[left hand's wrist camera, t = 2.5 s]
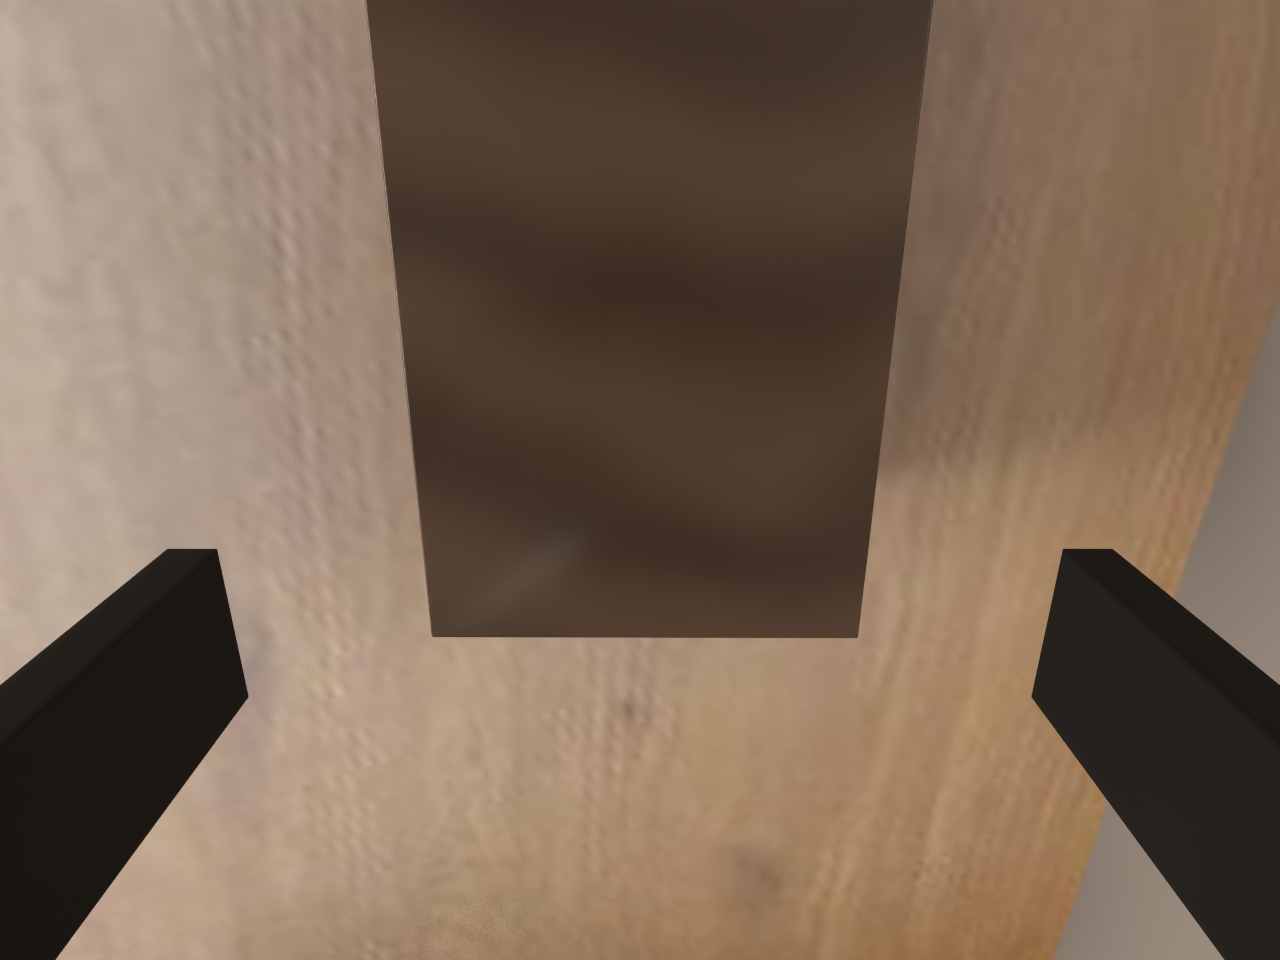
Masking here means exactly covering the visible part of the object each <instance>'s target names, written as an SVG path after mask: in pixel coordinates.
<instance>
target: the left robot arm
mask: <svg viewBox="0 0 1280 960" xmlns="http://www.w3.org/2000/svg"><path fill="white" fill-rule="evenodd" d="M247 698H248V692H247V687H246V683H245V678H244V673H243V669H242V664H241V659H240V655H239V650H238V645H237V641H236V636H235V631H234V627H233V622H232V617H231V613H230V608H229V603H228V599H227V594H226V589H225V585H224V580H223V575H222V570H221V566H220V561H219V556H218V552H217V549H167V550H166V551H164V552H163V553H162V554H161V555H160V556H158V557H157V558H156V559H155V560H153V561H152V562H151V563H150V564H148V565H147V566H146V567H145V568H144V569H142V570H141V571H140V572H139V573H137V574H136V575H135V576H134V577H132V578H131V579H130V580H129V581H128V582H126V583H125V584H124V585H123V586H121V587H120V588H119V589H118V590H117V591H115V592H114V593H113V594H112V595H110V596H109V597H108V598H107V599H105V600H104V601H103V602H102V603H101V604H99V605H98V606H97V607H96V608H94V609H93V610H92V611H91V612H90V613H88V614H87V615H86V616H85V617H83V618H82V619H81V620H80V621H78V622H77V623H76V624H75V625H74V626H72V627H71V628H70V629H69V630H67V631H66V632H65V633H64V634H62V635H61V636H60V637H59V638H58V639H56V640H55V641H54V642H53V643H51V644H50V645H49V646H48V647H47V648H45V649H44V650H43V651H42V652H40V653H39V654H38V655H37V656H35V657H34V658H33V659H32V660H31V661H29V662H28V663H27V664H26V665H24V666H23V667H22V668H21V669H20V670H18V671H17V672H16V673H15V674H13V675H12V676H11V677H10V678H8V679H7V680H6V681H5V682H4V683H2V684H1V685H0V960H56V958H57V957H58V955H59V954H60V953H61V951H62V950H63V949H64V947H65V946H66V945H67V943H68V942H69V941H70V939H71V938H72V936H73V935H74V934H75V932H76V931H77V930H78V928H79V927H80V926H81V924H82V923H83V921H84V920H85V919H86V917H87V916H88V915H89V913H90V912H91V911H92V909H93V908H94V907H95V905H96V904H97V902H98V901H99V900H100V898H101V897H102V896H103V894H104V893H105V892H106V890H107V889H108V887H109V886H110V885H111V883H112V882H113V881H114V879H115V878H116V877H117V875H118V874H119V872H120V871H121V870H122V868H123V867H124V866H125V864H126V863H127V862H128V860H129V859H130V858H131V856H132V855H133V853H134V852H135V851H136V849H137V848H138V847H139V845H140V844H141V843H142V841H143V840H144V838H145V837H146V836H147V834H148V833H149V832H150V830H151V829H152V828H153V826H154V825H155V823H156V822H157V821H158V819H159V818H160V817H161V815H162V814H163V813H164V811H165V810H166V809H167V807H168V806H169V804H170V803H171V802H172V800H173V799H174V798H175V796H176V795H177V794H178V792H179V791H180V789H181V788H182V787H183V785H184V784H185V783H186V781H187V780H188V779H189V777H190V776H191V775H192V773H193V772H194V770H195V769H196V768H197V766H198V765H199V764H200V762H201V761H202V760H203V758H204V757H205V755H206V754H207V753H208V751H209V750H210V749H211V747H212V746H213V745H214V743H215V742H216V740H217V739H218V738H219V736H220V735H221V734H222V732H223V731H224V730H225V728H226V727H227V726H228V724H229V723H230V721H231V720H232V719H233V717H234V716H235V715H236V713H237V712H238V711H239V709H240V708H241V706H242V705H243V704H244V702H245V701H246V700H247ZM1032 698H1033V700H1034V701H1035V702H1036V704H1037V705H1038V706H1039V708H1040V709H1041V711H1042V712H1043V713H1044V715H1045V716H1046V717H1047V719H1048V720H1049V721H1050V723H1051V724H1052V726H1053V727H1054V728H1055V730H1056V731H1057V732H1058V734H1059V735H1060V736H1061V738H1062V739H1063V740H1064V742H1065V743H1066V745H1067V746H1068V747H1069V749H1070V750H1071V751H1072V753H1073V754H1074V755H1075V757H1076V758H1077V760H1078V761H1079V762H1080V764H1081V765H1082V766H1083V768H1084V769H1085V770H1086V772H1087V773H1088V775H1089V776H1090V777H1091V779H1092V780H1093V781H1094V783H1095V784H1096V785H1097V787H1098V788H1099V789H1100V791H1101V792H1102V794H1103V795H1104V796H1105V798H1106V799H1107V800H1108V802H1109V803H1110V804H1111V806H1112V807H1113V809H1114V810H1115V811H1116V813H1117V814H1118V815H1119V817H1120V818H1121V819H1122V821H1123V822H1124V823H1125V825H1126V826H1127V828H1128V829H1129V830H1130V832H1131V833H1132V834H1133V836H1134V837H1135V838H1136V840H1137V841H1138V842H1139V844H1140V845H1141V847H1142V848H1143V849H1144V851H1145V852H1146V853H1147V855H1148V856H1149V858H1150V859H1151V860H1152V862H1153V863H1154V864H1155V866H1156V867H1157V868H1158V870H1159V871H1160V872H1161V874H1162V875H1163V877H1164V878H1165V879H1166V881H1167V882H1168V883H1169V885H1170V886H1171V887H1172V889H1173V890H1174V891H1175V893H1176V894H1177V896H1178V897H1179V898H1180V900H1181V901H1182V902H1183V904H1184V905H1185V907H1186V908H1187V909H1188V911H1189V912H1190V913H1191V915H1192V916H1193V917H1194V919H1195V920H1196V921H1197V923H1198V924H1199V926H1200V927H1201V928H1202V930H1203V931H1204V932H1205V934H1206V935H1207V936H1208V938H1209V939H1210V941H1211V942H1212V943H1213V945H1214V946H1215V947H1216V949H1217V950H1218V951H1219V953H1220V954H1221V955H1222V957H1223V958H1224V959H1225V960H1280V685H1279V684H1278V683H1276V682H1275V681H1274V680H1273V679H1272V678H1270V677H1269V676H1268V675H1267V674H1265V673H1264V672H1263V671H1262V670H1260V669H1259V668H1258V667H1257V666H1256V665H1254V664H1253V663H1252V662H1251V661H1249V660H1248V659H1247V658H1246V657H1245V656H1243V655H1242V654H1241V653H1239V652H1238V651H1237V650H1236V649H1235V648H1233V647H1232V646H1231V645H1230V644H1229V643H1227V642H1226V641H1225V640H1224V639H1222V638H1221V637H1220V636H1219V635H1217V634H1216V633H1215V632H1214V631H1213V630H1211V629H1210V628H1209V627H1208V626H1206V625H1205V624H1204V623H1203V622H1202V621H1200V620H1199V619H1198V618H1197V617H1195V616H1194V615H1193V614H1192V613H1190V612H1189V611H1188V610H1187V609H1186V608H1184V607H1183V606H1182V605H1181V604H1179V603H1178V602H1177V601H1176V600H1175V599H1173V598H1172V597H1171V596H1170V595H1168V594H1167V593H1166V592H1165V591H1163V590H1162V589H1161V588H1160V587H1159V586H1157V585H1156V584H1155V583H1154V582H1152V581H1151V580H1150V579H1149V578H1148V577H1146V576H1145V575H1144V574H1143V573H1141V572H1140V571H1139V570H1138V569H1136V568H1135V567H1134V566H1133V565H1132V564H1130V563H1129V562H1128V561H1127V560H1125V559H1124V558H1123V557H1122V556H1120V555H1119V554H1118V553H1117V552H1116V551H1114V550H1113V549H1063V552H1062V556H1061V561H1060V566H1059V570H1058V575H1057V580H1056V585H1055V589H1054V594H1053V599H1052V603H1051V608H1050V613H1049V617H1048V622H1047V627H1046V631H1045V636H1044V641H1043V645H1042V650H1041V655H1040V659H1039V664H1038V669H1037V673H1036V678H1035V683H1034V687H1033V692H1032Z"/></svg>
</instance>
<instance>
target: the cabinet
mask: <svg viewBox="0 0 1280 960" xmlns="http://www.w3.org/2000/svg"><path fill="white" fill-rule="evenodd" d="M365 5H366V14H367V24H368V33H369V43H370V52H371V62H372V71H373V81H374V90H375V100H376V109H377V119H378V128H379V138H380V147H381V157H382V166H383V176H384V185H385V195H386V204H387V214H388V223H389V233H390V242H391V252H392V261H393V271H394V280H395V290H396V299H397V309H398V318H399V328H400V337H401V347H402V356H403V366H404V375H405V385H406V394H407V404H408V413H409V423H410V432H411V442H412V451H413V461H414V470H415V480H416V489H417V499H418V508H419V518H420V527H421V537H422V546H423V556H424V565H425V575H426V584H427V594H428V603H429V613H430V622H431V632H432V637H652V638H857V637H858V631H859V623H860V614H861V606H862V597H863V589H864V580H865V572H866V564H867V555H868V547H869V538H870V530H871V521H872V513H873V504H874V496H875V488H876V479H877V471H878V462H879V454H880V445H881V437H882V428H883V420H884V412H885V403H886V395H887V386H888V378H889V369H890V361H891V352H892V344H893V336H894V327H895V319H896V310H897V302H898V293H899V285H900V276H901V268H902V260H903V251H904V243H905V234H906V226H907V217H908V209H909V200H910V192H911V184H912V175H913V167H914V158H915V150H916V141H917V133H918V124H919V116H920V108H921V99H922V91H923V82H924V74H925V65H926V57H927V48H928V40H929V32H930V23H931V15H932V6H933V0H365Z"/></svg>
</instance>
